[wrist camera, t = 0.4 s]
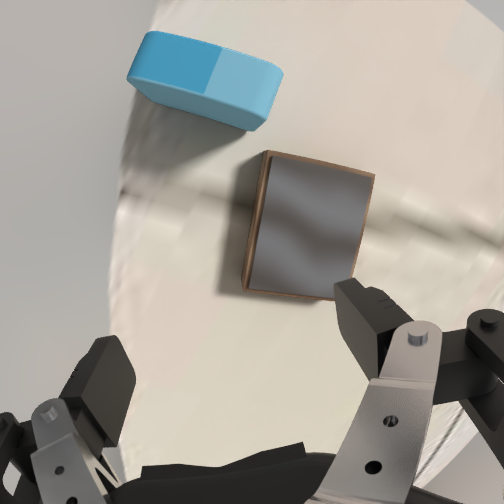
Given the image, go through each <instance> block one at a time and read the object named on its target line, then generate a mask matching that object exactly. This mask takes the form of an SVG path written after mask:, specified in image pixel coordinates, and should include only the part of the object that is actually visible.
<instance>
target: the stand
mask: <svg viewBox="0 0 504 504" xmlns="http://www.w3.org/2000/svg"><path fill="white" fill-rule="evenodd" d="M374 179H375V174H373V173H369V172H365V171H361V170H357V169H353V168H349V167H345V166H341V165H337V164H333V163H328V162H324V161H320V160H315V159H311V158H306V157H301V156H296V155H292V154H287V153H282V152H276V151H271V150H266V151H264V152H263V158H262V163H261V169H260V175H259V180H258V186H257V191H256V197H255V203H254V208H253V214H252V220H251V225H250V231H249V237H248V243H247V248H246V254H245V260H244V266H243V271H242V277H241V281H242V287H243V291H249V292H257V293H265V294H273V295H282V296H290V297H299V298H308V299H317V300H327V301H335V296H334V289H333V286H334V283H336V282H340V281H343V280H347V279H350V278H352V275H353V272H354V268H355V264H356V260H357V256H358V252H359V248H360V244H361V240H362V235H363V231H364V227H365V222H366V218H367V213H368V209H369V204H370V199H371V194H372V189H373V184H374Z"/></svg>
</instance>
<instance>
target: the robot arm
mask: <svg viewBox="0 0 504 504" xmlns="http://www.w3.org/2000/svg"><path fill="white" fill-rule="evenodd" d="M333 289H334V296H335V304H336V311H337V319H338V325H339V329H340V332H341V335H342V337H343V339H344V340H345V342H346V344H347V345H348V347H349V349H350V350H351V352H352V354H353V355H354V357H355V358H356V360H357V362H358V363H359V365H360V367H361V368H362V370H363V372H364V373H365V375H366V377H367V378H368V380H369V385H368V387H367V390H366V392H365V394H364V397H363V399H362V401H361V404H360V406H359V408H358V411H357V413H356V415H355V417H354V420H353V422H352V424H351V426H350V428H349V430H348V432H347V435H346V437H345V439H344V441H343V443H342V445H341V447H340V449H339V451H338V453H337V455H336V454H330V453H316V452H313V453H306V452H305V448H304V444H303V442H300V443H296V444H292V445H288V446H284V447H280V448H275V449H271V450H266V451H261V452H259V453H256V454H254V455H251V456H249V457H246V458H244V459H241V460H238V461H236V462H233V463H230V464H228V465H225V466H222V467H205V466H194V465H185V464H169V465H154V466H142V471H141V477H140V478H137V479H134V480H131V481H129V482H127V483H124V484H122V483H121V481H120V480H119V478H118V476H117V475H116V473H115V472H114V470H113V468H112V467H111V465H110V463H109V462H108V460H107V458H106V457H105V455H104V454H103V453H102V449H103V447H117V444H118V441H119V437H120V434H121V430H122V427H123V423H124V420H125V417H126V413H127V410H128V407H129V404H130V400H131V397H132V394H133V391H134V388H135V384H136V375H135V371H134V369H133V366H132V364H131V362H130V360H129V358H128V356H127V354H126V352H125V350H124V348H123V346H122V344H121V342H120V340H119V339H118V337H117V336H115V335H112V336H106V337H101V338H97V339H96V340H95V342H94V343H93V345H92V347H91V348H90V350H89V352H88V353H87V354H86V355H85V356H84V357H83V358H82V359H81V360H80V361H79V362H78V364H77V366H76V367H75V369H74V371H73V372H72V374H71V376H70V377H71V378H69V380H68V381H67V383H66V385H65V386H64V388H63V390H62V392H61V394H60V396H59V397H58V398H53V399H49V400H47V401H45V402H43V403H42V404H40V405H39V406H38V407H37V408H36V409H35V410H34V412H33V414H32V417H31V420H29V421H26V422H22V423H19V422H18V421H17V419H16V418H15V417H14V415H13V414H12V413H9V412H4V413H1V414H0V504H463V503H460V502H457V501H454V500H451V499H448V498H445V497H442V496H439V495H437V494H434V493H431V492H428V491H426V490H423V489H421V488H418V487H416V486H413V482H414V478H415V475H416V472H417V468H418V465H419V461H420V458H421V454H422V450H423V446H424V443H425V439H426V434H427V430H428V426H429V421H430V417H431V412H432V407H433V405H438V404H443V403H448V402H453V401H459V403H460V404H461V406H462V407H463V409H464V410H465V411H466V413H467V414H468V416H469V417H470V419H471V420H472V421H473V423H474V424H475V426H476V427H477V429H478V430H479V432H480V433H481V435H482V436H483V438H484V439H485V440H486V442H487V444H488V445H489V447H490V448H491V450H492V451H493V453H494V454H495V456H496V458H497V459H498V461H499V462H500V464H501V465H502V467H503V469H504V384H503V383H504V313H503V312H501V311H498V310H494V309H482V310H478V311H475V312H473V313H472V314H471V315H470V316H469V317H468V319H467V326H466V329H461V330H455V331H450V332H442V331H441V329H440V328H439V327H438V326H437V325H435V324H433V323H431V322H427V321H414V320H413V319H412V318H411V317H410V316H409V315H408V314H407V313H406V312H405V311H404V310H403V309H402V308H401V307H400V306H398V305H396V303H395V302H394V301H393V300H392V299H390V297H389V296H388V295H387V294H386V293H385V292H384V291H382V290H380V289H377V288H374V287H368V288H364V287H363V286H362V285H361V284H360V283H359V282H358V281H357V280H356V279H355V278H350V279H347V280H343V281H340V282H336V283H334V286H333ZM498 378H499V379H500V380H501V381H502V382H503V383H502V382H501V381H500V380H499V379H498ZM9 461H10V462H11V463H12V464H13V465H14V466H15V467H16V469H17V470H18V471H19V472H20V473H21V477H20V479H19V482H18V484H17V487H16V490H15V493H14V495H13V496H12V495H11V494H10V493H9V492H8V491H7V490H6V489H5V487H4V485H3V480H2V479H3V475H4V473H5V470H6V468H7V466H8V463H9ZM503 498H504V487H503Z"/></svg>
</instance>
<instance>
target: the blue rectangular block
mask: <svg viewBox="0 0 504 504" xmlns="http://www.w3.org/2000/svg"><path fill="white" fill-rule="evenodd" d="M282 78H283V72H282V70H281V69H280V68H279V67H277V66H276V65H274V64H272V63H270V62H267V61H264V60H261V59H259V58H256V57H253V56H250V55H247V54H244V53H240V52H237V51H234V50H231V49H227V48H224V47H221V46H217V45H214V44H210V43H206V42H203V41H199V40H195V39H191V38H187V37H183V36H178V35H174V34H169V33H165V32H159V31H150V32H148V33H147V34H146V35H145V36H144V39H143V41H142V43H141V45H140V47H139V50H138V52H137V54H136V56H135V59H134V61H133V63H132V66H131V68H130V70H129V73H128V75H127V81H128V82H129V83H130V84H132V85H133V86H134V87H135V88H137V89H138V90H139V91H140V92H141V93H143V94H144V95H145V96H146V97H147V98H148V99H150V100H151V101H153V102H156V103H158V104H161V105H165V106H169V107H172V108H176V109H179V110H183V111H186V112H190V113H193V114H196V115H200V116H203V117H206V118H209V119H212V120H216V121H219V122H222V123H225V124H228V125H231V126H234V127H237V128H240V129H243V130H247V131H255V130H256V129H257V128H258V127H259V126H260V125H262V124H263V123H264V122H265V121H266V120H267V117H268V115H269V112H270V109H271V107H272V104H273V101H274V99H275V96H276V94H277V91H278V88H279V86H280V83H281V80H282Z"/></svg>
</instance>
